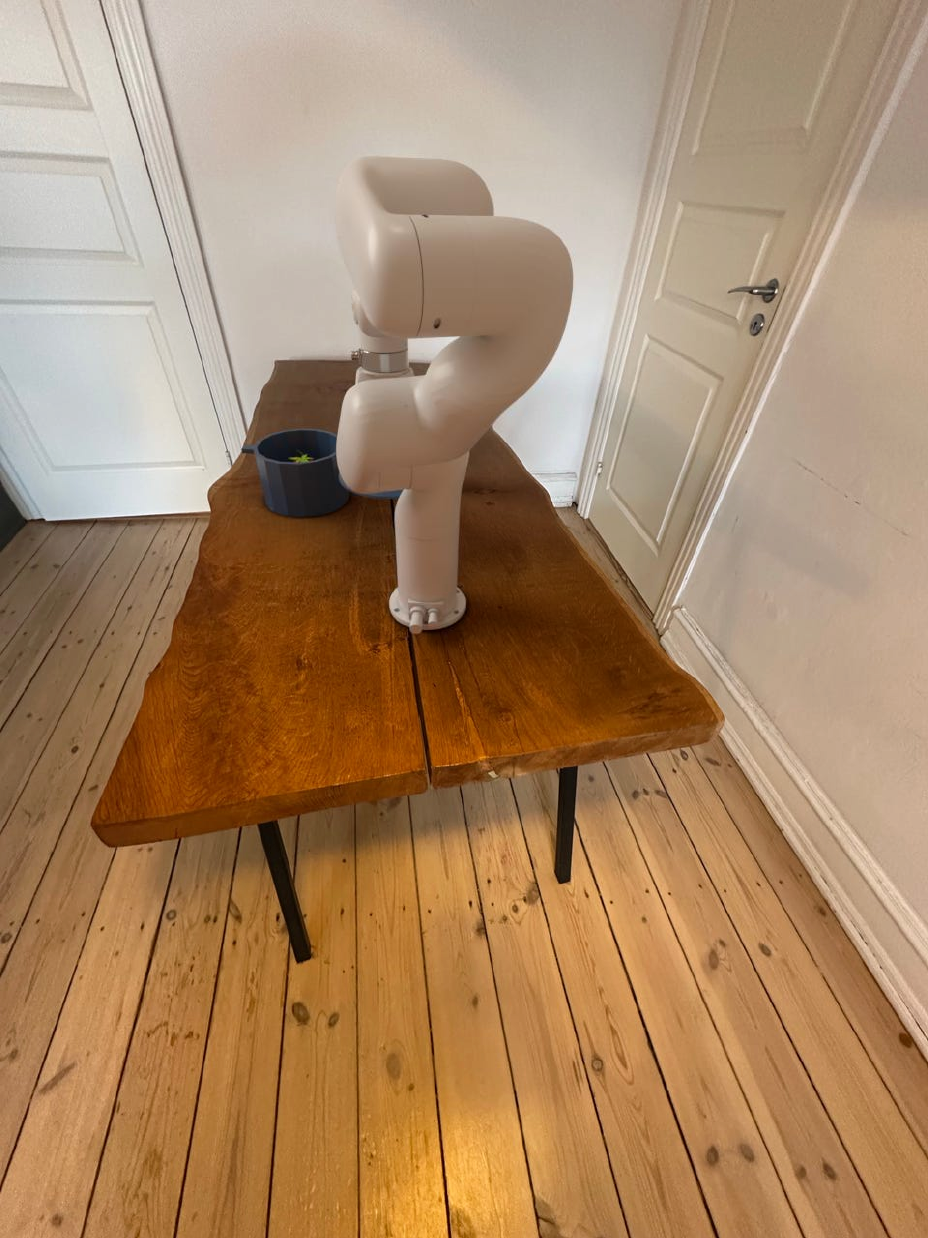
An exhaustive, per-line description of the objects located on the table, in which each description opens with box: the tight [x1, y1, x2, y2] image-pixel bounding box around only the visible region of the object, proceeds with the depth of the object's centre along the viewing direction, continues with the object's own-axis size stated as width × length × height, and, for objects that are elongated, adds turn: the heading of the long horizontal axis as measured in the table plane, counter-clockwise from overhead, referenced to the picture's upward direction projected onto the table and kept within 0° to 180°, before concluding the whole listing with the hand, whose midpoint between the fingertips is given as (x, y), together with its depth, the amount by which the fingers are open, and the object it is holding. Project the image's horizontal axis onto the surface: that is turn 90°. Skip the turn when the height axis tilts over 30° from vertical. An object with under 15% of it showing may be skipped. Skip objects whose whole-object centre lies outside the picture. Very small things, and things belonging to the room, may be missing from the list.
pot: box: [241, 428, 351, 518], centre depth 114 cm, size 18×23×12 cm
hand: (391, 469), depth 98 cm, fingers closed on lid, 2 cm apart
